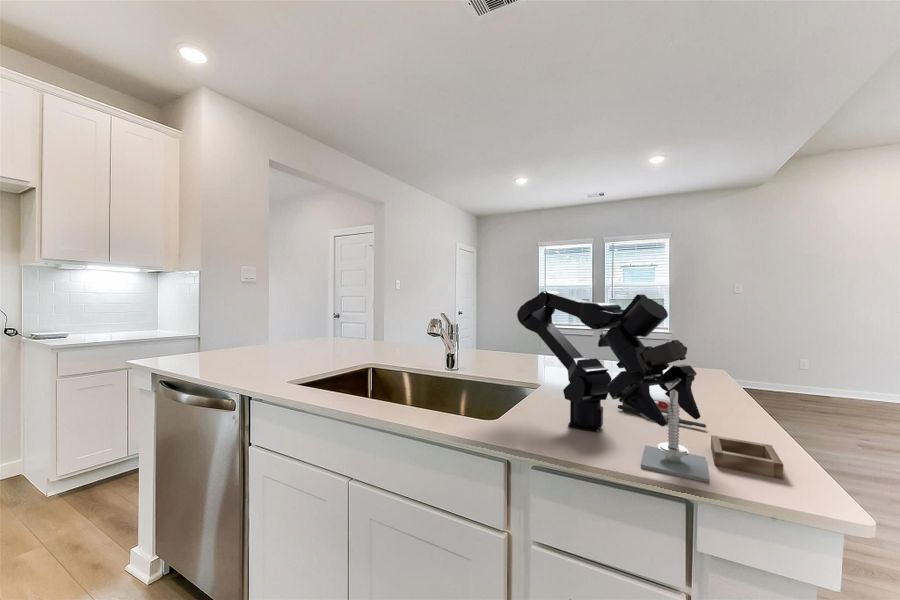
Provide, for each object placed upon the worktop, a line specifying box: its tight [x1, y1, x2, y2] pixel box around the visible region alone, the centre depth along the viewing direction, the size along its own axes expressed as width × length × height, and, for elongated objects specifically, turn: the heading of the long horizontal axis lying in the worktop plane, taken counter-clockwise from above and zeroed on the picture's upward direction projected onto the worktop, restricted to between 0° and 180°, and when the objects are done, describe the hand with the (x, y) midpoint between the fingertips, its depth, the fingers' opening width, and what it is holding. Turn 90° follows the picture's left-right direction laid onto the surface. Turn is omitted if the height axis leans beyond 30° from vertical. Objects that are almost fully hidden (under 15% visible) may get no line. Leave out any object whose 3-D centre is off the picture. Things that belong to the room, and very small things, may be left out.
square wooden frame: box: [710, 434, 784, 480], centre depth 69 cm, size 9×9×2 cm
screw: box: [657, 390, 690, 463], centre depth 68 cm, size 13×5×5 cm
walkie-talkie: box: [617, 397, 707, 429], centre depth 94 cm, size 9×4×20 cm
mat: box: [640, 444, 710, 484], centre depth 68 cm, size 10×10×1 cm
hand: (682, 421), depth 67 cm, fingers open, 9 cm apart
